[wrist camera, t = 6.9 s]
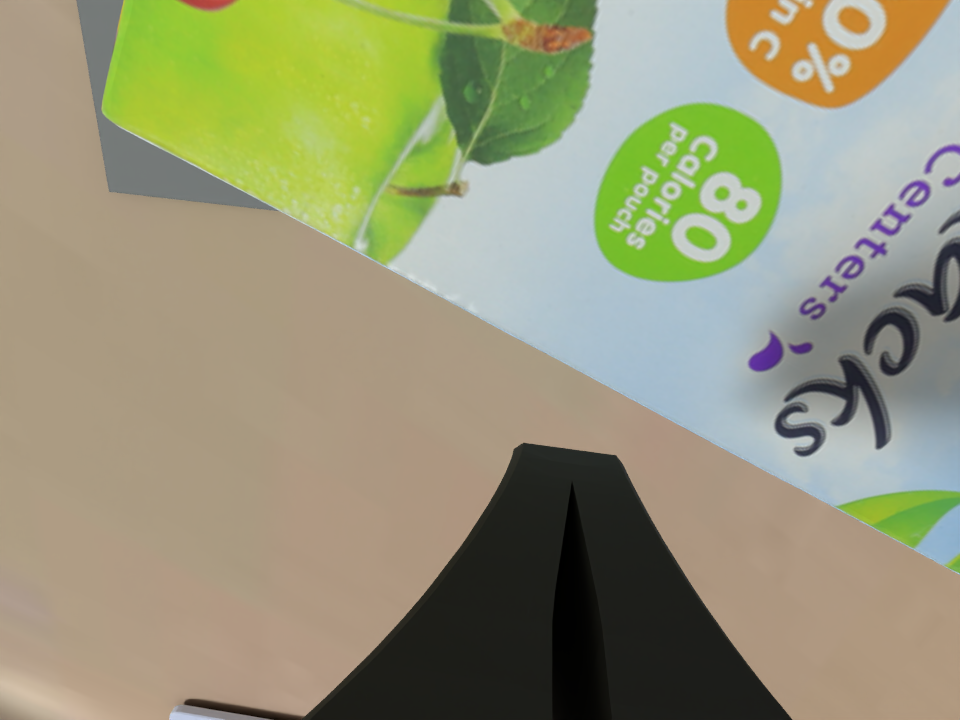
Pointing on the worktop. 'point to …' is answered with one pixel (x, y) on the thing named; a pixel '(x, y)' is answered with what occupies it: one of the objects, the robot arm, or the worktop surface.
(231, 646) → the worktop surface
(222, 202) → the mat
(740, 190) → the snack box
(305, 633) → the worktop surface
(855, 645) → the worktop surface
